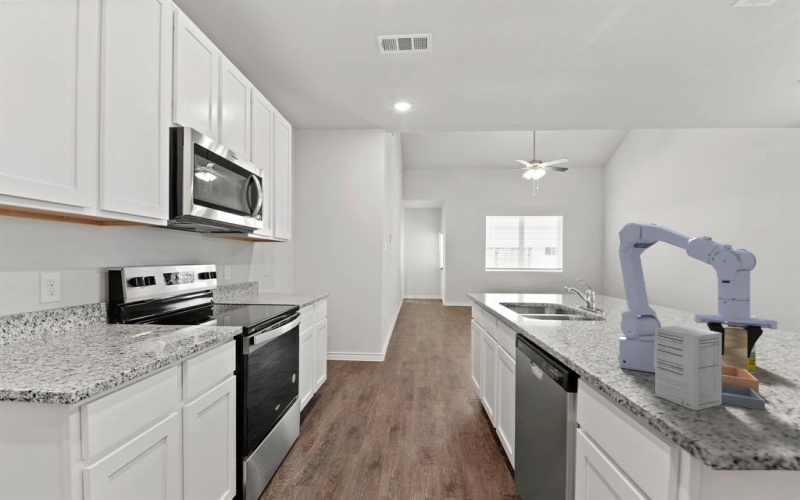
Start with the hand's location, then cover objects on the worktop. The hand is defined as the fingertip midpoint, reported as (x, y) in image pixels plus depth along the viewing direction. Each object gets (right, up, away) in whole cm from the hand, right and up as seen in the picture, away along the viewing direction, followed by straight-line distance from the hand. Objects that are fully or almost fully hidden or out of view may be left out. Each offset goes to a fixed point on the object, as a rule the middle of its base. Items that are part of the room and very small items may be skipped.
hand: (733, 355), depth 86 cm
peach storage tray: (+7, -11, +11) cm, 17 cm away
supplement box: (-12, -11, -1) cm, 16 cm away
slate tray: (0, -10, 0) cm, 10 cm away
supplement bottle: (+22, -11, +20) cm, 31 cm away
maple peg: (0, -3, 0) cm, 3 cm away
